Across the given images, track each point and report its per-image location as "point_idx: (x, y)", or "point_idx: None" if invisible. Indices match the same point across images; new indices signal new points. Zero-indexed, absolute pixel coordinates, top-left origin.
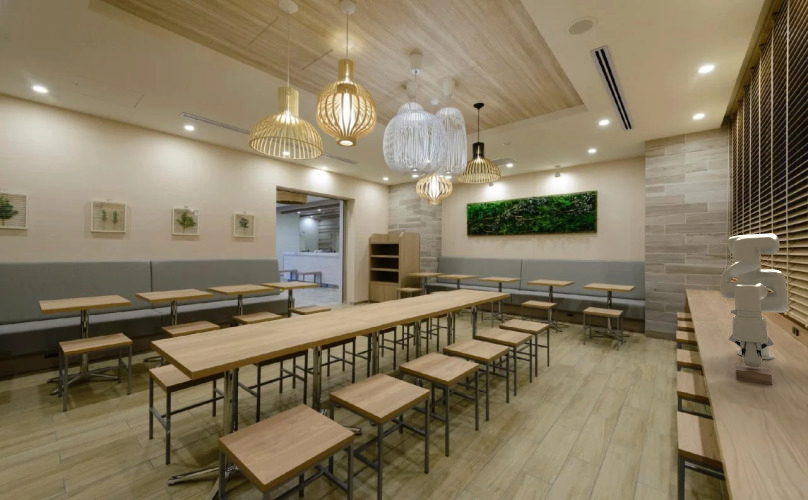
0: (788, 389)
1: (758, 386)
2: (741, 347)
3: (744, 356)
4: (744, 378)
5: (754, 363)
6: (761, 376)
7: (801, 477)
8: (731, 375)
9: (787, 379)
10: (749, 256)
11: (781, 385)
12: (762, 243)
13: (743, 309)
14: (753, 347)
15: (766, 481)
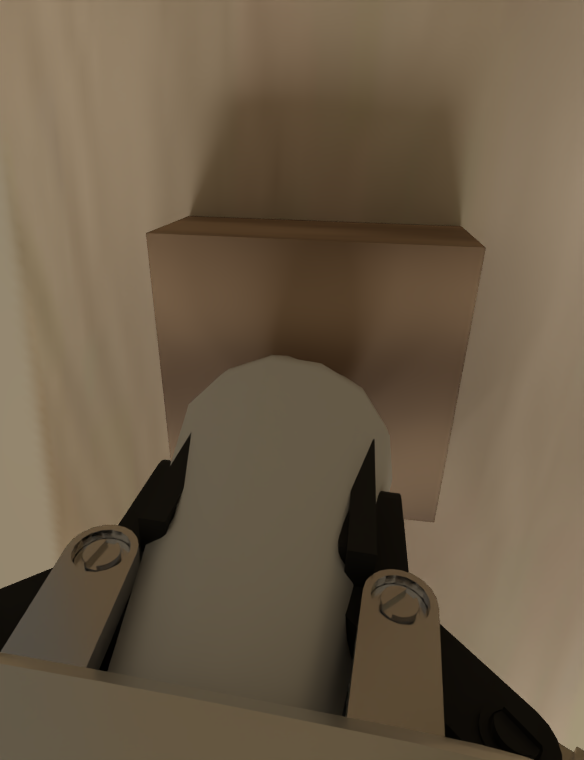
0: (79, 146)
1: (293, 73)
2: (411, 594)
3: (371, 448)
4: (394, 225)
5: (270, 357)
6: (243, 232)
7: None
8: (479, 350)
9: (111, 446)
10: None
11: (131, 251)
12: None
13: None
14: (192, 567)
15: None
